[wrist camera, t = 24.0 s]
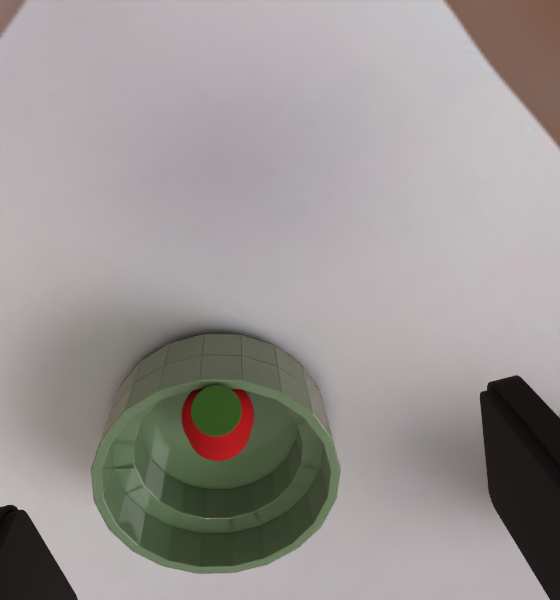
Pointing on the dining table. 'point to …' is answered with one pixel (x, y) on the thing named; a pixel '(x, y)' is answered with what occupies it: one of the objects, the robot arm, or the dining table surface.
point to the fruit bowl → (216, 474)
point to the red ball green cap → (220, 455)
